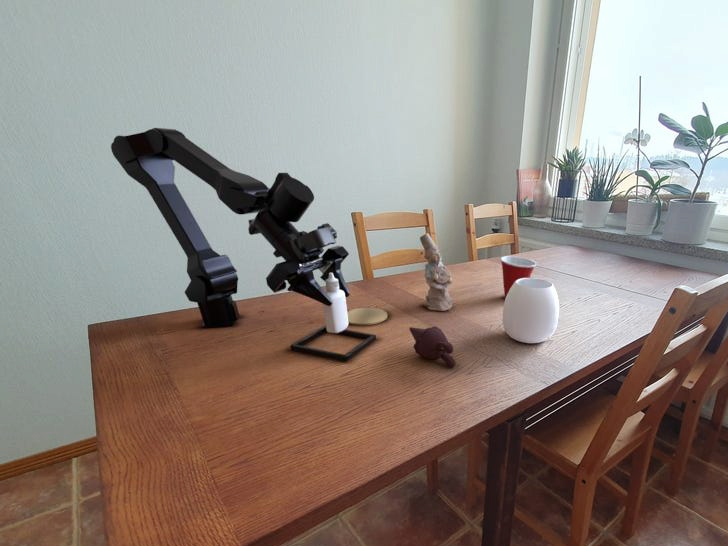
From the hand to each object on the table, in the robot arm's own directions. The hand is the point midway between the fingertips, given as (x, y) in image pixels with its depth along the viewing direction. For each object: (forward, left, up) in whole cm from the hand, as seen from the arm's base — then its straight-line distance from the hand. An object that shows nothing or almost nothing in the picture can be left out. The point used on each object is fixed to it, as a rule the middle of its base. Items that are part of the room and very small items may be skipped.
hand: (340, 300), depth 76 cm
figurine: (+25, +21, -11) cm, 34 cm away
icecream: (+17, -8, -11) cm, 22 cm away
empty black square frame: (-2, +2, -11) cm, 11 cm away
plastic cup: (+50, +24, -11) cm, 56 cm away
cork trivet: (+5, +17, -11) cm, 20 cm away
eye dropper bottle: (-1, +1, -7) cm, 7 cm away
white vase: (+42, -3, -11) cm, 44 cm away
